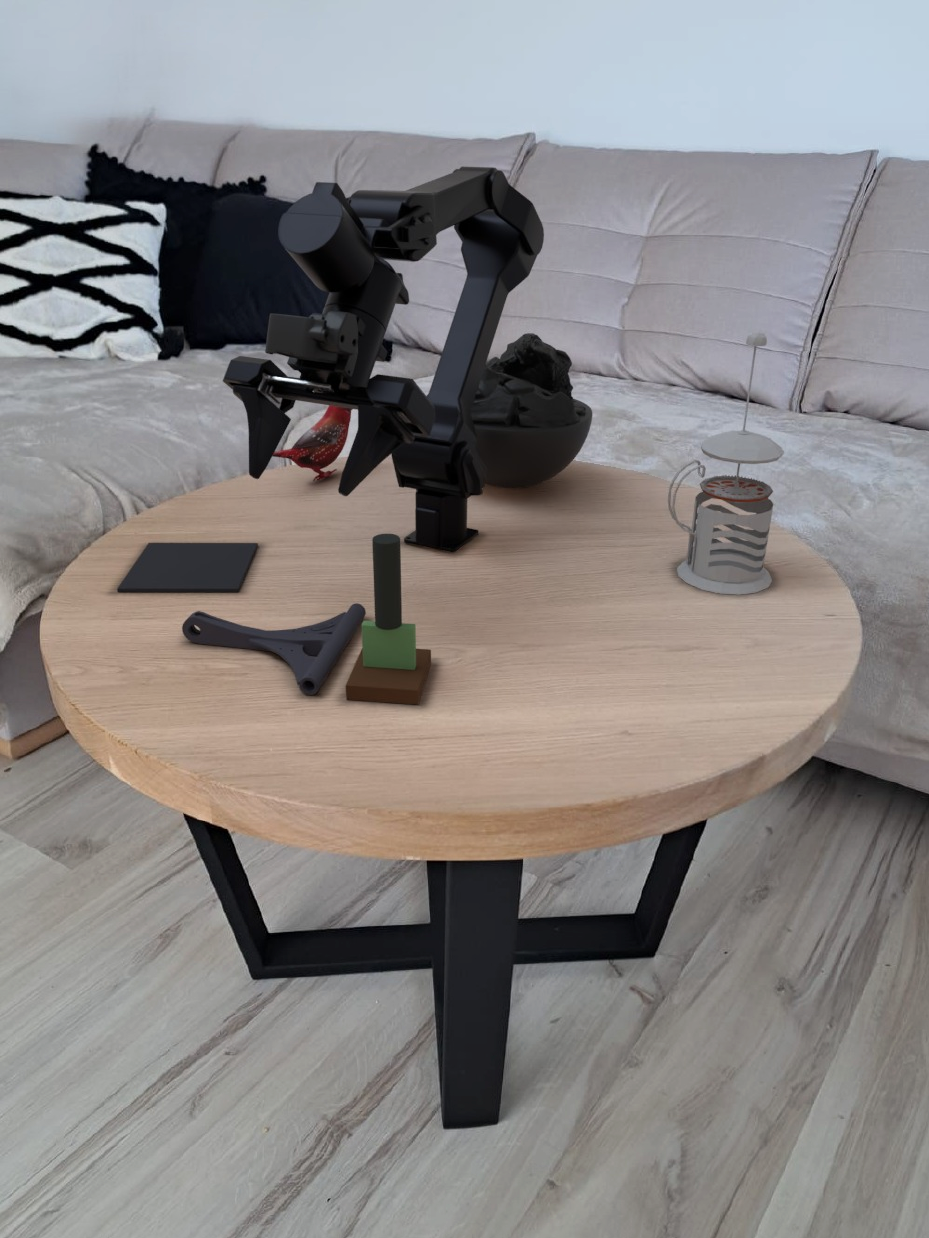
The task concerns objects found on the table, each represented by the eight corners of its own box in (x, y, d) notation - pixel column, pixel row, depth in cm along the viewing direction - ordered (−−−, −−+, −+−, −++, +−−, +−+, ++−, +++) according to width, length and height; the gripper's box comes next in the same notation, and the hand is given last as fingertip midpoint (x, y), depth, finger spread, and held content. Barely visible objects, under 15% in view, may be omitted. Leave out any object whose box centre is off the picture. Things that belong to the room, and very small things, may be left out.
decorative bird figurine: (363, 466, 136) (361, 393, 131) (280, 504, 122) (274, 424, 118) (346, 462, 137) (343, 390, 133) (261, 500, 123) (255, 421, 119)
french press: (786, 593, 101) (830, 341, 89) (674, 596, 100) (704, 343, 88) (753, 555, 109) (788, 321, 98) (649, 557, 108) (673, 322, 97)
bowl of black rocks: (606, 473, 134) (617, 330, 126) (557, 521, 118) (566, 361, 110) (471, 453, 142) (473, 317, 133) (407, 496, 125) (404, 344, 117)
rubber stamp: (363, 658, 88) (358, 520, 82) (431, 663, 87) (430, 524, 81) (346, 699, 81) (338, 553, 76) (418, 705, 81) (416, 557, 75)
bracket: (218, 605, 97) (215, 579, 96) (366, 619, 94) (365, 592, 93) (150, 679, 84) (146, 650, 83) (319, 697, 82) (316, 668, 81)
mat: (149, 546, 110) (148, 542, 110) (258, 546, 110) (257, 542, 110) (117, 592, 99) (116, 588, 99) (238, 592, 100) (237, 588, 99)
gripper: (218, 261, 84) (154, 429, 81) (410, 278, 76) (346, 464, 74) (284, 330, 94) (229, 482, 91) (460, 351, 87) (406, 517, 84)
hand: (296, 485), depth 85 cm, fingers open, 9 cm apart
